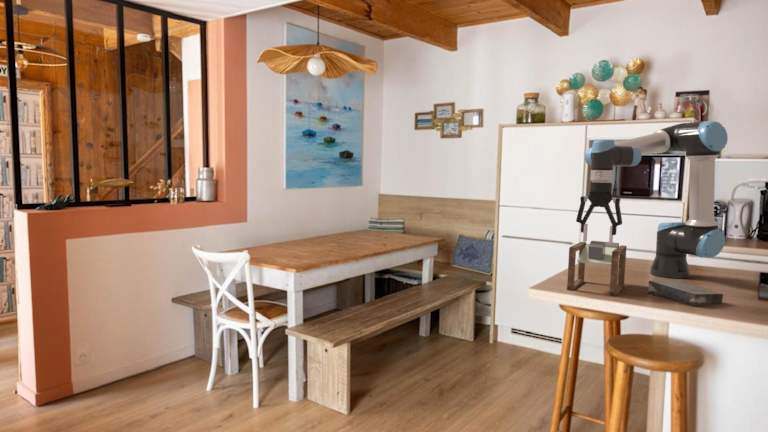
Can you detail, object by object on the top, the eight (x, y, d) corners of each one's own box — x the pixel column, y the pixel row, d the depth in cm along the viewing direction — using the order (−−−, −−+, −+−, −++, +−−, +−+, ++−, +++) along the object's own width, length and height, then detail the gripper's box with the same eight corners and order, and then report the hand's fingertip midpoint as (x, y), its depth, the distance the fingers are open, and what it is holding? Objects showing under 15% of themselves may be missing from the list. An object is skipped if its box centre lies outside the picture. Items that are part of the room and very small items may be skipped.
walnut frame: (623, 286, 204) (626, 245, 202) (615, 296, 188) (618, 252, 186) (578, 280, 213) (580, 241, 211) (567, 289, 197) (569, 247, 195)
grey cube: (605, 254, 198) (605, 242, 197) (602, 259, 194) (602, 247, 193) (591, 252, 201) (591, 240, 199) (588, 258, 197) (588, 246, 195)
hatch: (621, 252, 209) (621, 239, 207) (611, 277, 193) (611, 263, 191) (589, 249, 215) (589, 236, 213) (577, 273, 199) (577, 259, 197)
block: (694, 308, 176) (695, 293, 175) (646, 294, 194) (647, 280, 193) (723, 305, 180) (725, 291, 180) (674, 292, 199) (675, 278, 198)
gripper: (569, 181, 197) (565, 240, 199) (630, 183, 186) (626, 246, 188) (573, 180, 204) (570, 238, 206) (634, 182, 192) (630, 244, 194)
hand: (597, 242), depth 197 cm, fingers open, 8 cm apart
